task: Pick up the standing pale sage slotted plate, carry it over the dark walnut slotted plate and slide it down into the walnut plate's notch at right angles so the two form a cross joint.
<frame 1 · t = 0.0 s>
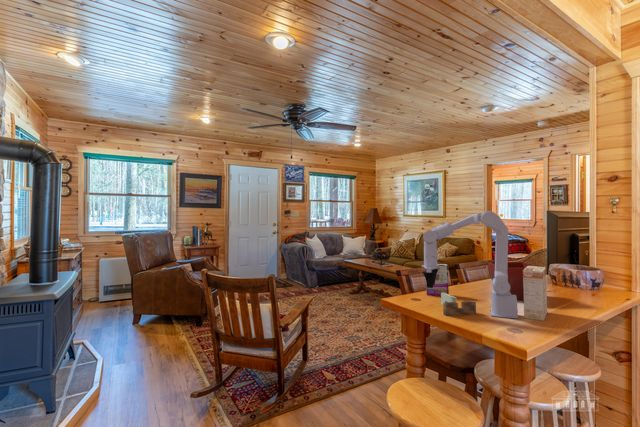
hand: (431, 286, 149), 10 cm above the table, fingers open, 7 cm apart
base plate: (459, 314, 140), on the table
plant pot: (515, 298, 166), on the table
coffeecake box: (535, 315, 137), on the table
candy bar box: (437, 295, 175), on the table
sage plate: (448, 307, 151), on the table
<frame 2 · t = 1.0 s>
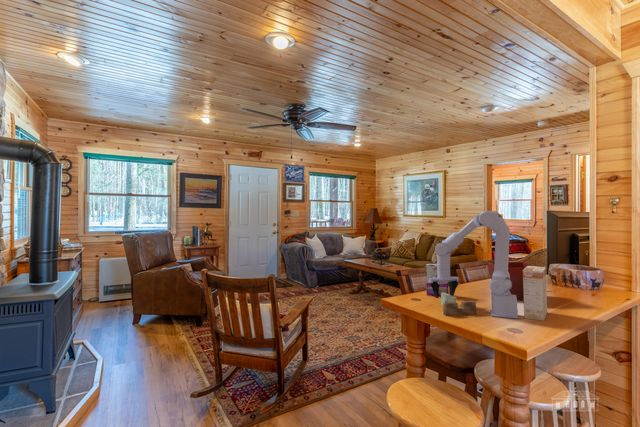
hand: (444, 297, 154), 4 cm above the table, fingers open, 7 cm apart
nothing on the table moved.
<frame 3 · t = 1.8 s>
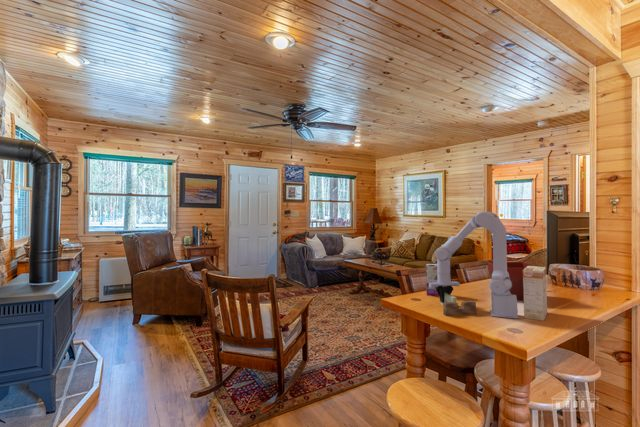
hand: (444, 302, 154), 1 cm above the table, fingers closed on sage plate, 2 cm apart
sage plate: (448, 307, 151), on the table, touching gripper
everything else where it was.
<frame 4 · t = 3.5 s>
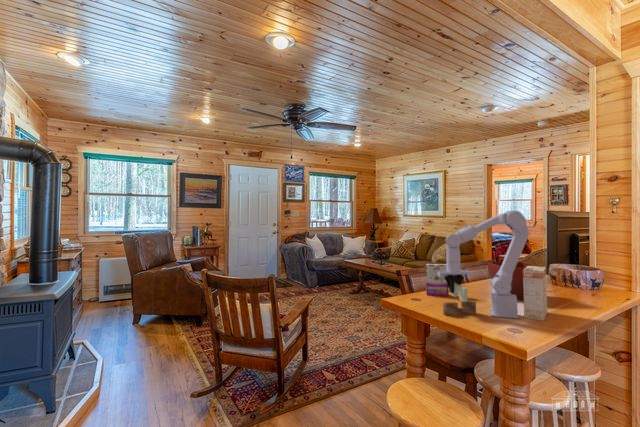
hand: (454, 292, 144), 8 cm above the table, fingers closed on sage plate
sage plate: (458, 297, 141), point 7 cm above the table, touching gripper
everything else where it was.
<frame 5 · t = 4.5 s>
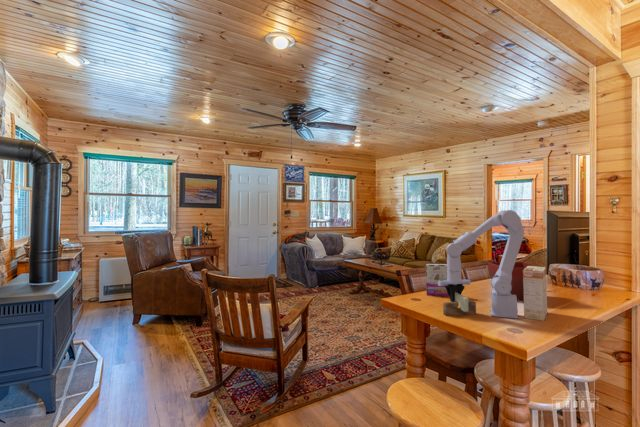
hand: (454, 301, 143), 4 cm above the table, fingers closed on sage plate
sage plate: (459, 307, 140), point 3 cm above the table, touching gripper
everything else where it was.
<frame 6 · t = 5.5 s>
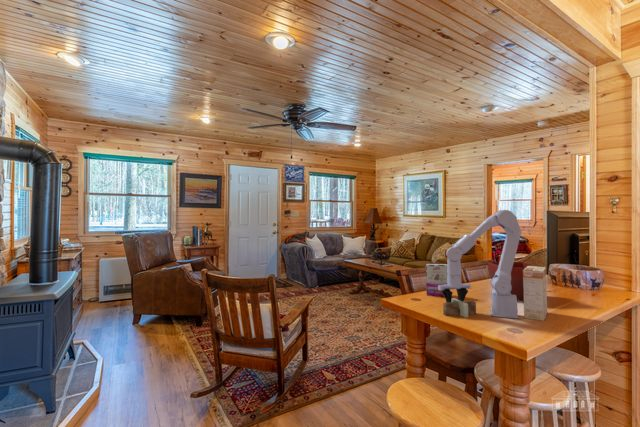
hand: (454, 305, 143), 3 cm above the table, fingers open, 5 cm apart
sage plate: (459, 313, 140), on the table
everything else where it was.
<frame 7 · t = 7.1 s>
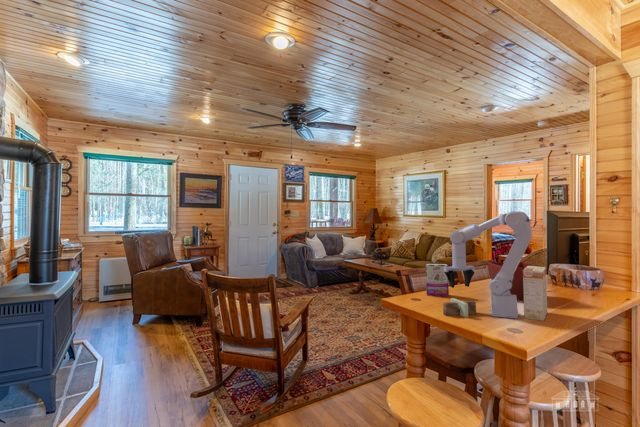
hand: (459, 286, 150), 9 cm above the table, fingers open, 7 cm apart
nothing on the table moved.
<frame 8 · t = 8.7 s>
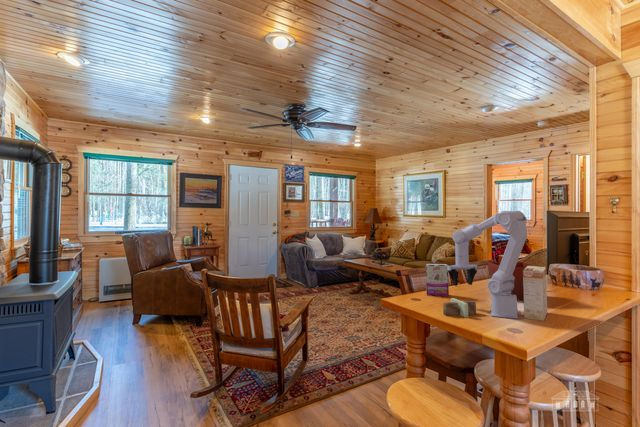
hand: (462, 285, 154), 9 cm above the table, fingers open, 7 cm apart
nothing on the table moved.
at the end: sage plate 0.4 cm off-centre on the base plate, point 0.0 cm above the base plate's base; sage plate tilted 0°; the gripper is holding nothing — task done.
